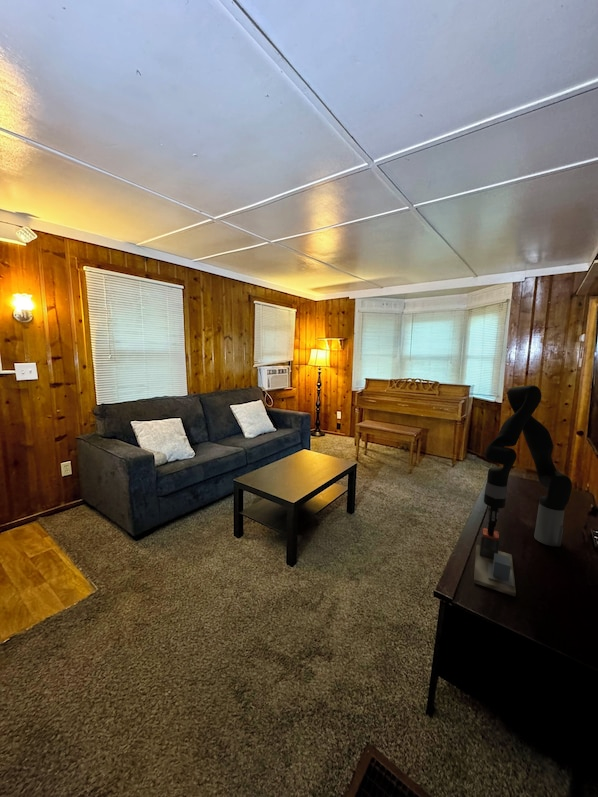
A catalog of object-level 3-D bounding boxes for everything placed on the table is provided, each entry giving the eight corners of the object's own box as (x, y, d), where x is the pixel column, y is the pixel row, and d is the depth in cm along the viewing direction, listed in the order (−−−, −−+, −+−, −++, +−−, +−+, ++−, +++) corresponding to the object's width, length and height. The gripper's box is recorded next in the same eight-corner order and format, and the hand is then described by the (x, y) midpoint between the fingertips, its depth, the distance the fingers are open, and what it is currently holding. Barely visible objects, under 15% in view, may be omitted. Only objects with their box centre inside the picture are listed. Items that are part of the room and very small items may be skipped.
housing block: (507, 571, 123) (509, 557, 122) (508, 580, 118) (510, 566, 117) (492, 566, 126) (494, 552, 125) (492, 575, 121) (494, 561, 120)
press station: (511, 557, 135) (514, 535, 133) (515, 596, 113) (519, 571, 112) (475, 547, 141) (478, 526, 140) (473, 582, 120) (476, 558, 118)
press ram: (496, 547, 135) (498, 531, 134) (496, 554, 130) (498, 538, 129) (481, 543, 138) (483, 527, 137) (481, 550, 133) (482, 534, 132)
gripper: (485, 485, 138) (480, 522, 140) (484, 497, 126) (479, 537, 129) (505, 489, 134) (500, 527, 137) (507, 502, 123) (501, 543, 125)
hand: (490, 532), depth 133 cm, fingers closed
